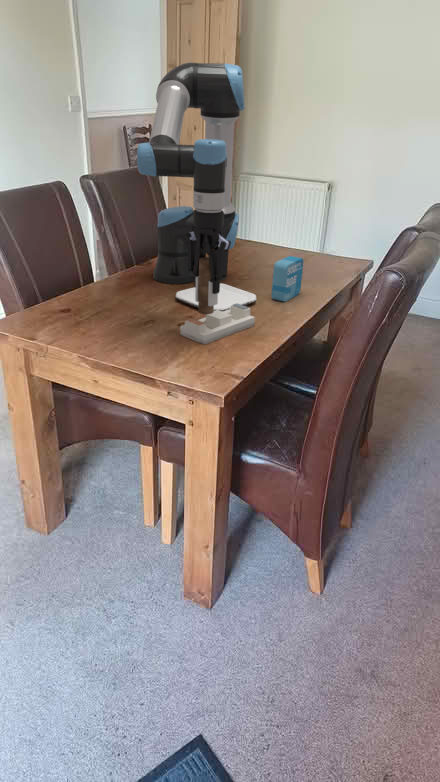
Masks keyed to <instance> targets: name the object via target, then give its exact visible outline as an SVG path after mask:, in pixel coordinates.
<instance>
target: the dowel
mask: <svg viewBox="0 0 440 782" xmlns="http://www.w3.org/2000/svg"><path fill="white" fill-rule="evenodd" d="M209 280H211V273H210V264H209V256H208V255H206V256H205V257H201V258H199V300H198V308H197V309H198V310H197V311H198V313H199V314H201V315H206V314H212V313H213V312H214V305H213V306H208V289H209Z"/></svg>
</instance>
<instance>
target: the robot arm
mask: <svg viewBox="0 0 440 782" xmlns="http://www.w3.org/2000/svg"><path fill="white" fill-rule="evenodd" d="M243 78H244V77H243V70H242V67H240V66H239V65H237V64H231V63H226V62H225V63H216V62H215V63H211V62H205V63H204V62H186V63H182V64H179V65H178V66H176V67H173V69H171V70H170V71H168V72H167V73H166V74H165V75H164V76H163V77H162V79H161V80H160V81H159V84H158V86H157V89H156V93H155V99H156V103H157V106H156V111H155V115H154V120H153V125H152V126H151V127H152V128H151V131H150V136H149V137H150V138H149V141H148V142H141V143H139V144H137V145H138V146H137V149H136V165H137V171H138V173H139V174H140V175H143V176H149V177H150V176H151V177H154V178H155V177H174V178H175V177H179V178H191V179H193V191H192V192H193V193H192V194H193V195H192V198H193V199H192V200H193V201H192V202H193V203H192V206H185V205H184V206H183V205H182V206H173V207H168V208H165V209H162V210H161V211H160V212H159V213H158V214H157V224H156V226H157V248H158V249H157V253H158V254H157V258H156V263H155V268H154V269H153V279H154V280H155V281H158V282H159V283H164V284H173V285H174V284H176V285H178V284H179V285H181V284H189V283H192V282H193V287H195V288H196V289H195V301H196V302H198V300H199V258H201V257H205V256H208V257H209V264H210V273H211V280H209V289H208V306H213V305H216V304H217V302H218V293H219V291H220V283H221V281H223V280H226V279H227V276H228V263H229V262H228V261H229V252H230V251H229V250H232V249H233V248H235V247H234V246H235V244H236V240H237V233H238V227H239V222H240V221H239V220H240V214H239V213H236V208H235V205H233V204H232V185H233V184H232V182H233V181H232V180H233V158H234V157H233V156H234V154H233V153H234V132H235V130H234V129H235V122H236V121H237V120H238V119H239V118H240V112H241V111H244V110H245V107H246V105H245V94H244V91H245V90H244V80H243ZM187 109H198V110H200V117H201V118H202V119H203V120H204V123H205V127H204V129H205V130H204V131H205V132H204V133H205V134H204V138H201V139H197V140H195V141H194V143H193V144H181V143H180V140H181V134H182V128H183V122H184V117H185V112H186V111H187ZM212 249H214V250H212Z"/></svg>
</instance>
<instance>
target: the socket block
mask: <svg viewBox="0 0 440 782" xmlns="http://www.w3.org/2000/svg"><path fill="white" fill-rule="evenodd" d="M255 322H256V317H255V316H253V315H251V308H250V307H248V306H247V305H245V306H243V305H240V304H237V303H236V304H233V305H231V309H229V310H226V311H223V312H222V311H219V310H216V311H214V312H213V313H212V314H205V317H202V318H200V319H195V318H193V317H191V318H189V319H187V320H184V324H182V325H180V329H179V330H180V333H179V334H180V336H182V337H185V338H187V339H190V340H192V341H194V342H196V343H199V344H202V345H205V346H206V345H207V344H211V343H212V342H216V341H217V340H220V339H223V338H225V337H228V336H230V335H233V334H236V333H238V332H241V331H243V330H246V329H249V328H252V327H254V326H255V325H256V324H255Z"/></svg>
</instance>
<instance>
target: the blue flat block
mask: <svg viewBox="0 0 440 782" xmlns="http://www.w3.org/2000/svg"><path fill="white" fill-rule="evenodd" d="M303 268H304V259H303V258H302V257H297V256H292V255H289V256H286V257H284V258H281V259H280V260H277V261H276V262H275V263H274V266H273V273H272V286H271V299H272V300H276V301H280V302H284V303H285V302H287V301H290V300H291V299H293V298H294V297H297V296H298V295H299V294H300V292H301V287H302V280H303V278H302V277H303V270H304V269H303Z"/></svg>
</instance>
